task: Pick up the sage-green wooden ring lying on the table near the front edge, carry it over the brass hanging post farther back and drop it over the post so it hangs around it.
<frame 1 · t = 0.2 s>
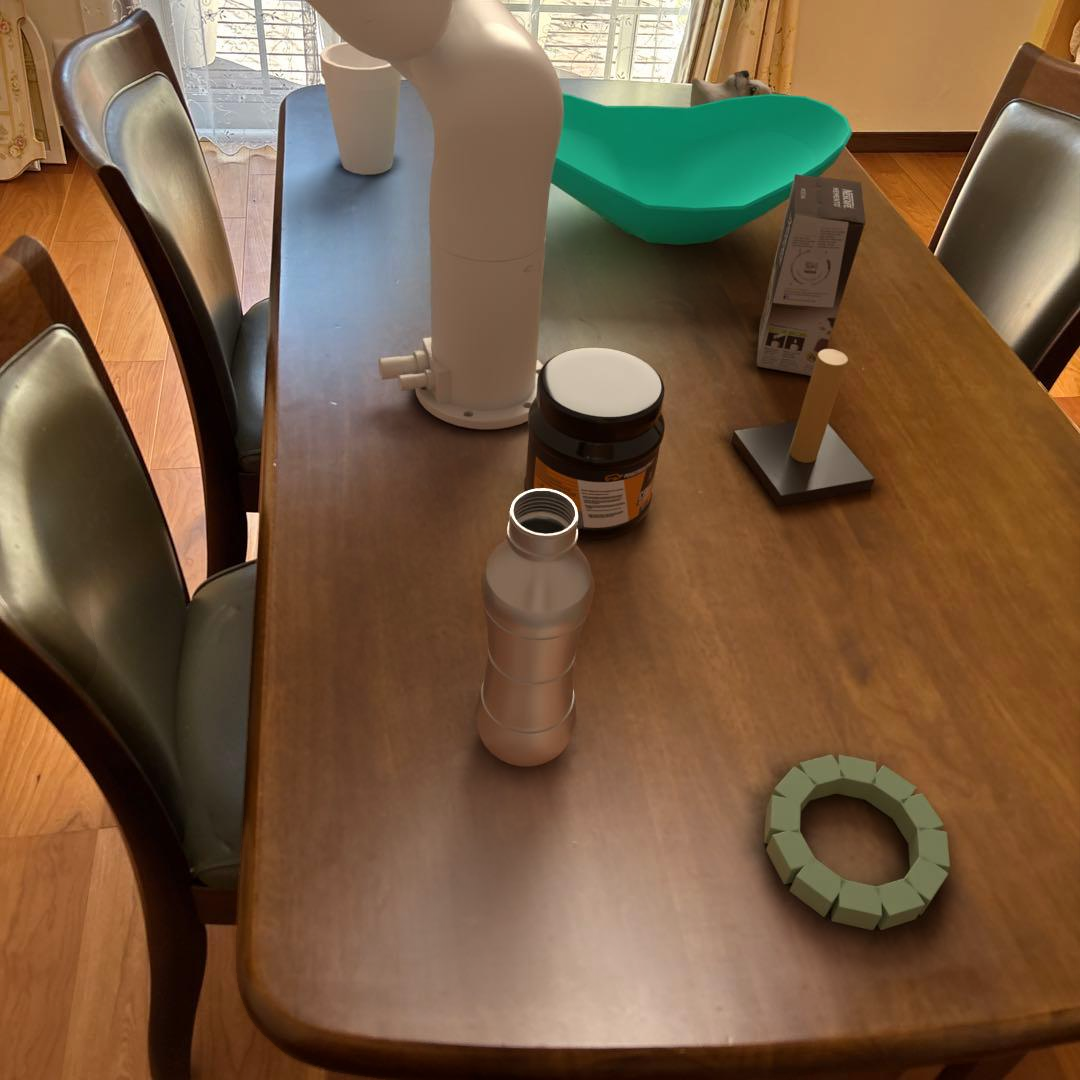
supplement container: (586, 503, 84), on the table
ring: (850, 845, 63), on the table
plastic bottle: (523, 739, 67), on the table
hook stand: (799, 464, 90), on the table
table top decor: (657, 228, 121), on the table
coffee box: (788, 350, 103), on the table
ceramic sculpture: (735, 135, 143), on the table
foam cup: (367, 165, 128), on the table
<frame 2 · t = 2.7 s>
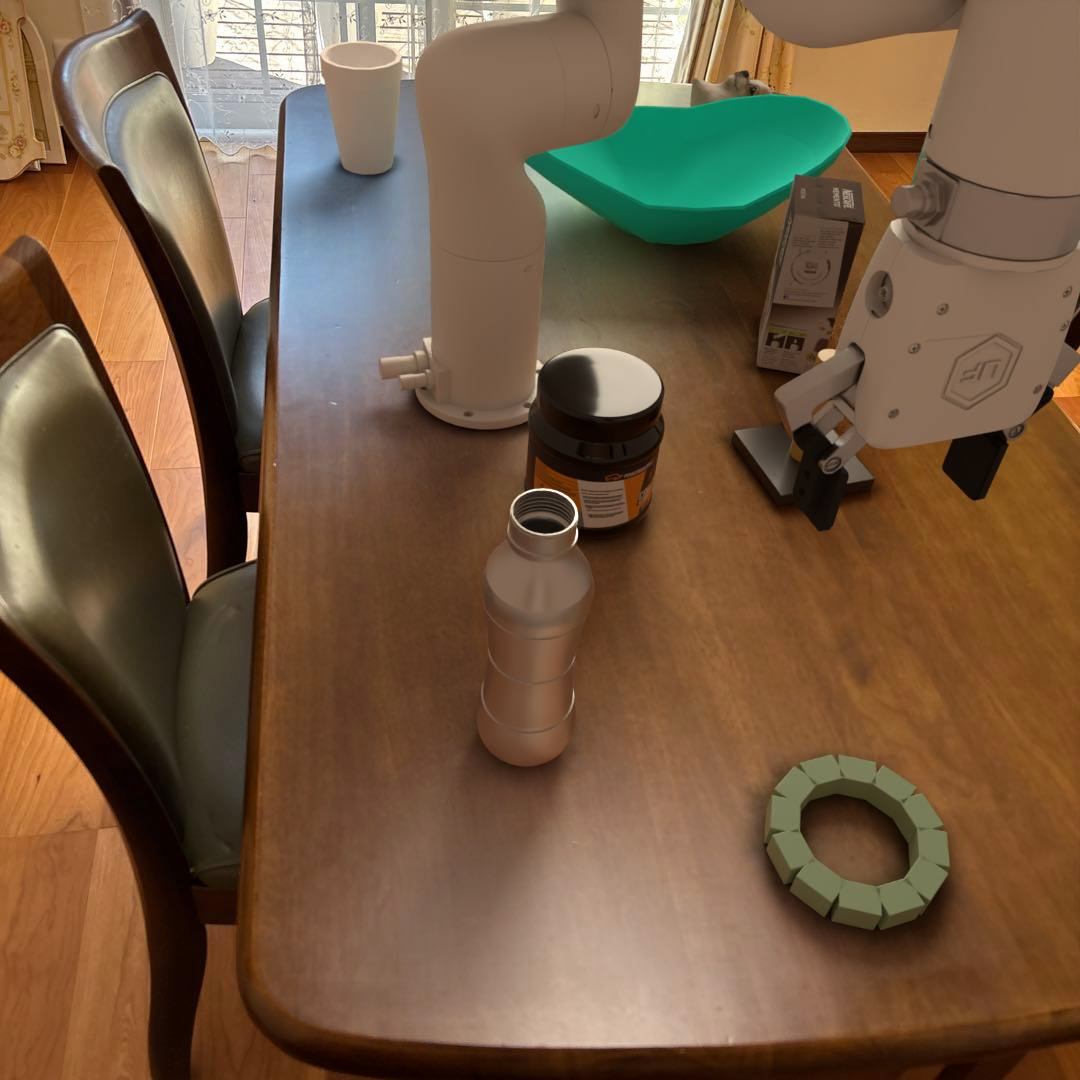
hand: (887, 499, 56), 20 cm above the table, tool pointing down, fingers open, 9 cm apart
nothing on the table moved.
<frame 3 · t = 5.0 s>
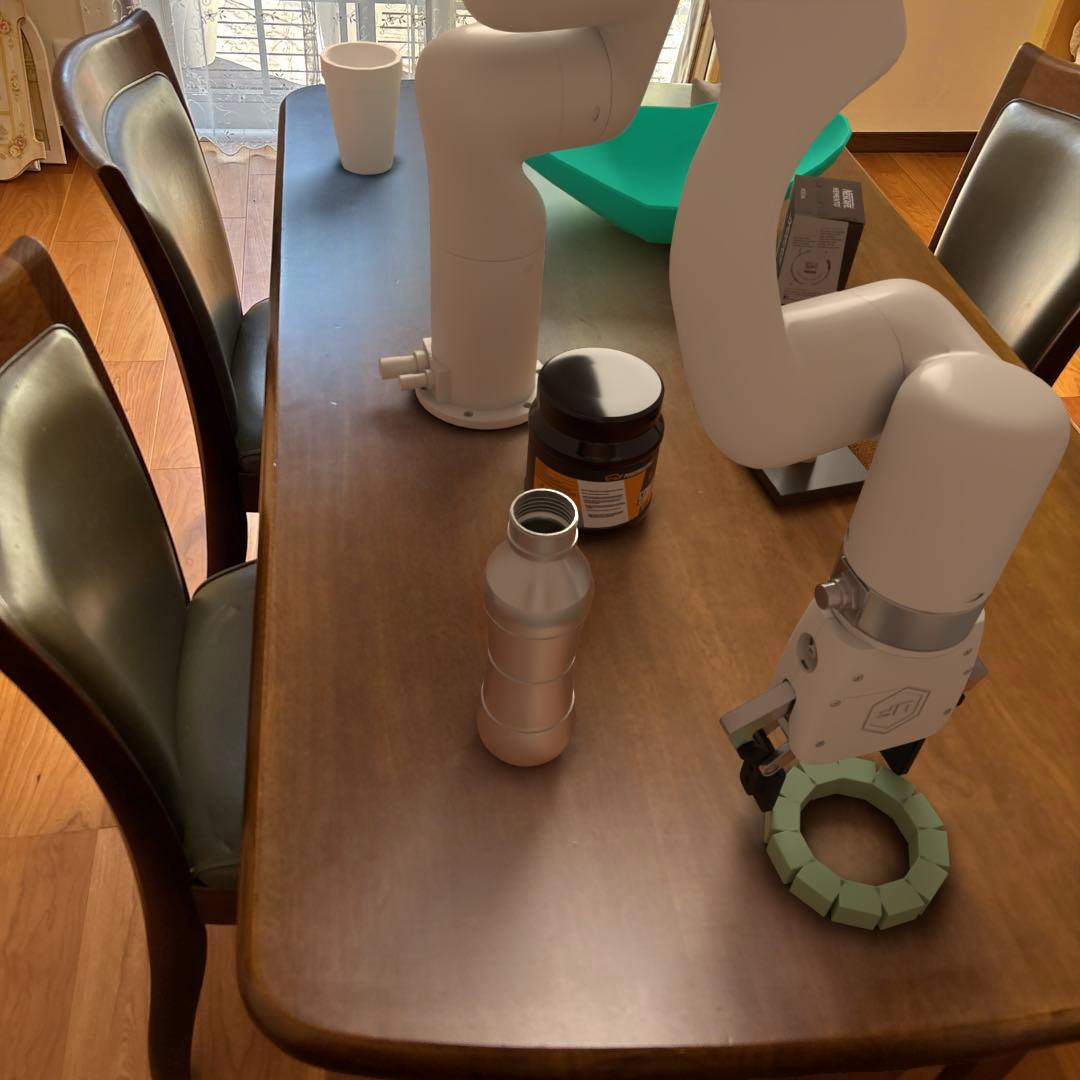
hand: (823, 773, 65), 2 cm above the table, tool pointing down, fingers closed on ring, 9 cm apart
ring: (850, 845, 63), on the table, touching gripper
everything else where it was.
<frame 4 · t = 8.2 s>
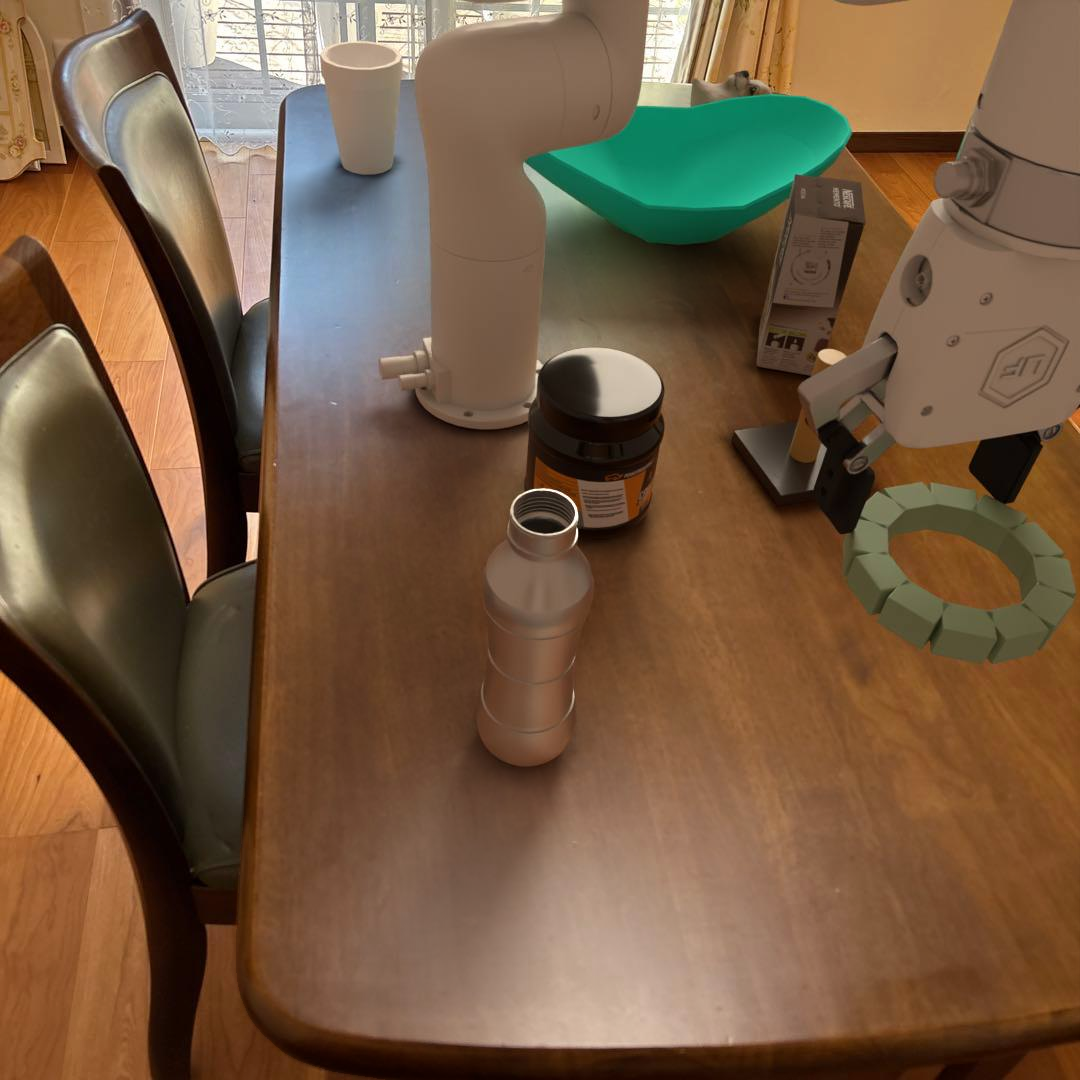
hand: (912, 500, 53), 22 cm above the table, tool pointing down, fingers closed on ring, 9 cm apart
ring: (948, 579, 51), point 20 cm above the table, touching gripper
everything else where it was.
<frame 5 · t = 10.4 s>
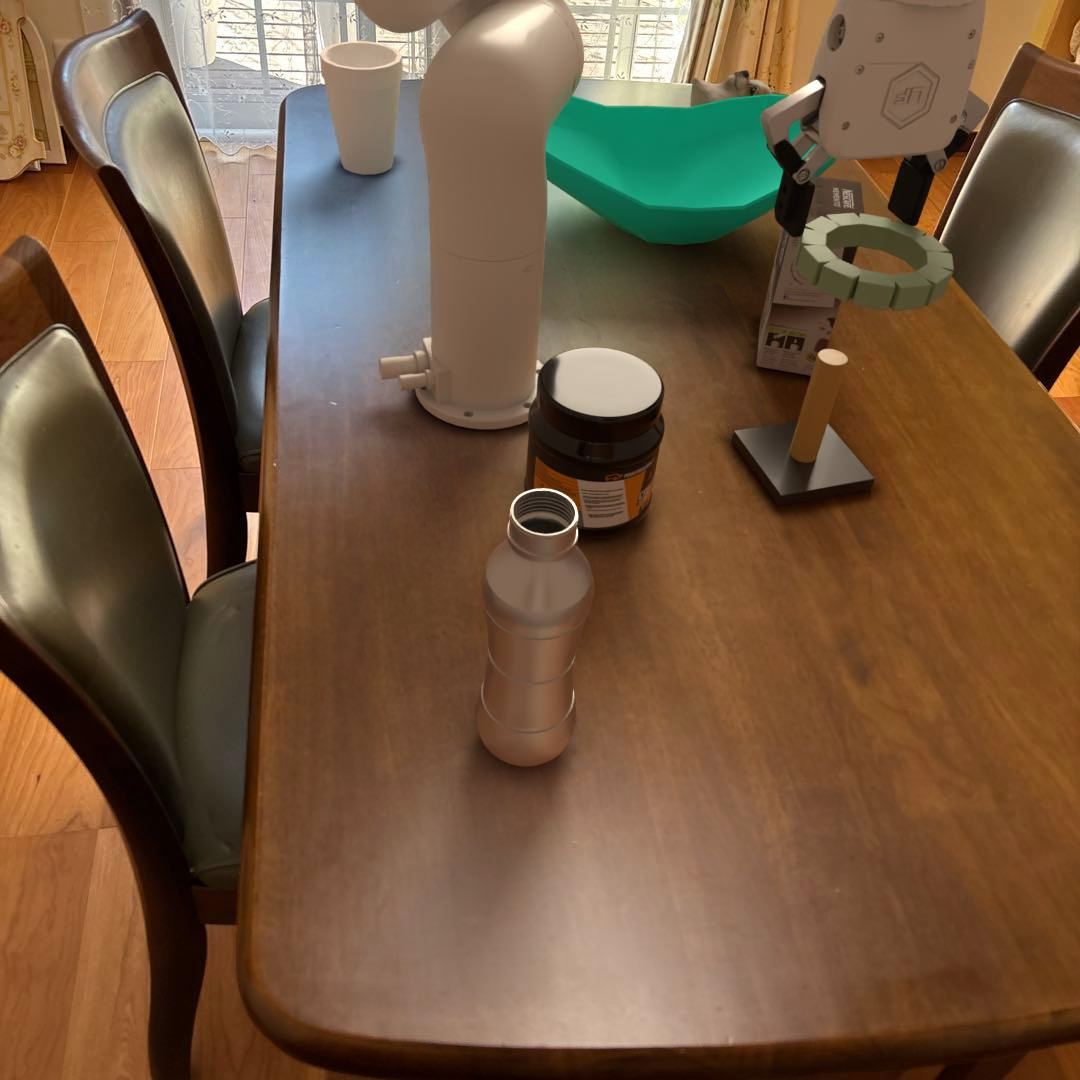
hand: (845, 222, 75), 22 cm above the table, tool pointing down, fingers closed on ring, 9 cm apart
ring: (869, 271, 73), point 21 cm above the table, touching gripper
everything else where it was.
when the fingers open (17 cm above the table, at t = 11.7 s): ring drops 15 cm, resting on hook stand.
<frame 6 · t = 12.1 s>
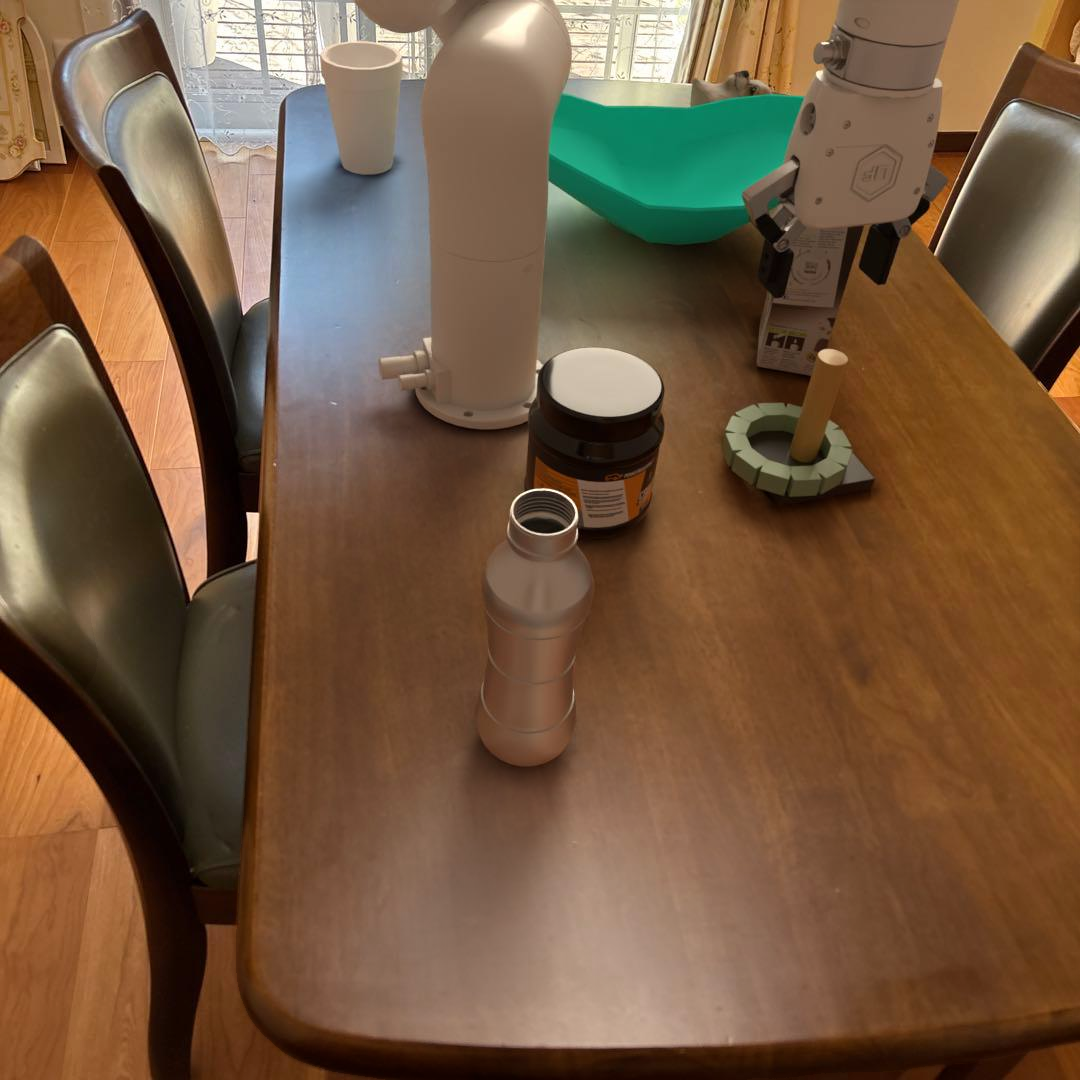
hand: (821, 282, 82), 15 cm above the table, tool pointing down, fingers open, 8 cm apart
ring: (783, 456, 88), point 1 cm above the table, touching hook stand
everything else where it was.
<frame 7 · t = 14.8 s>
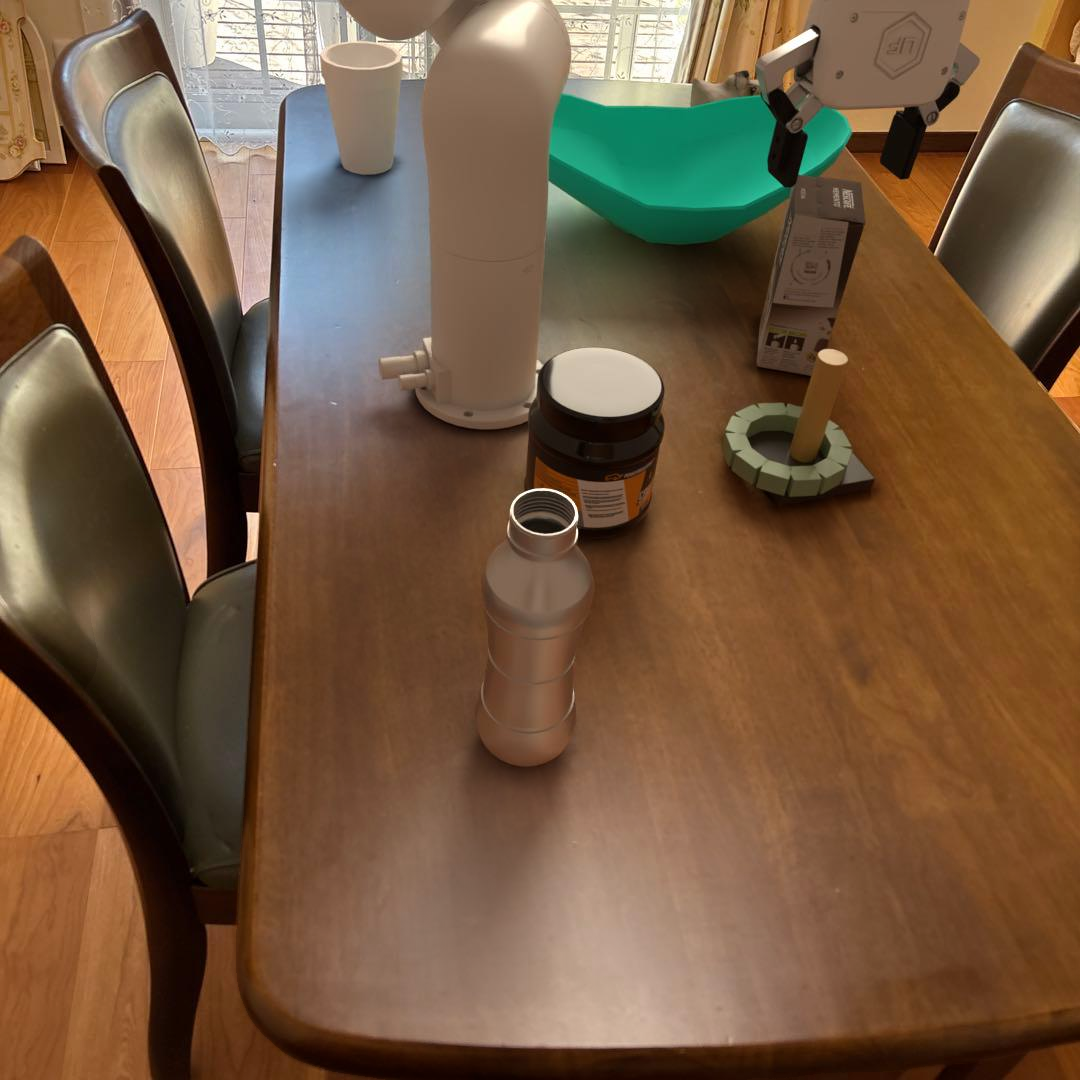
hand: (837, 175, 76), 24 cm above the table, tool pointing down, fingers open, 9 cm apart
nothing on the table moved.
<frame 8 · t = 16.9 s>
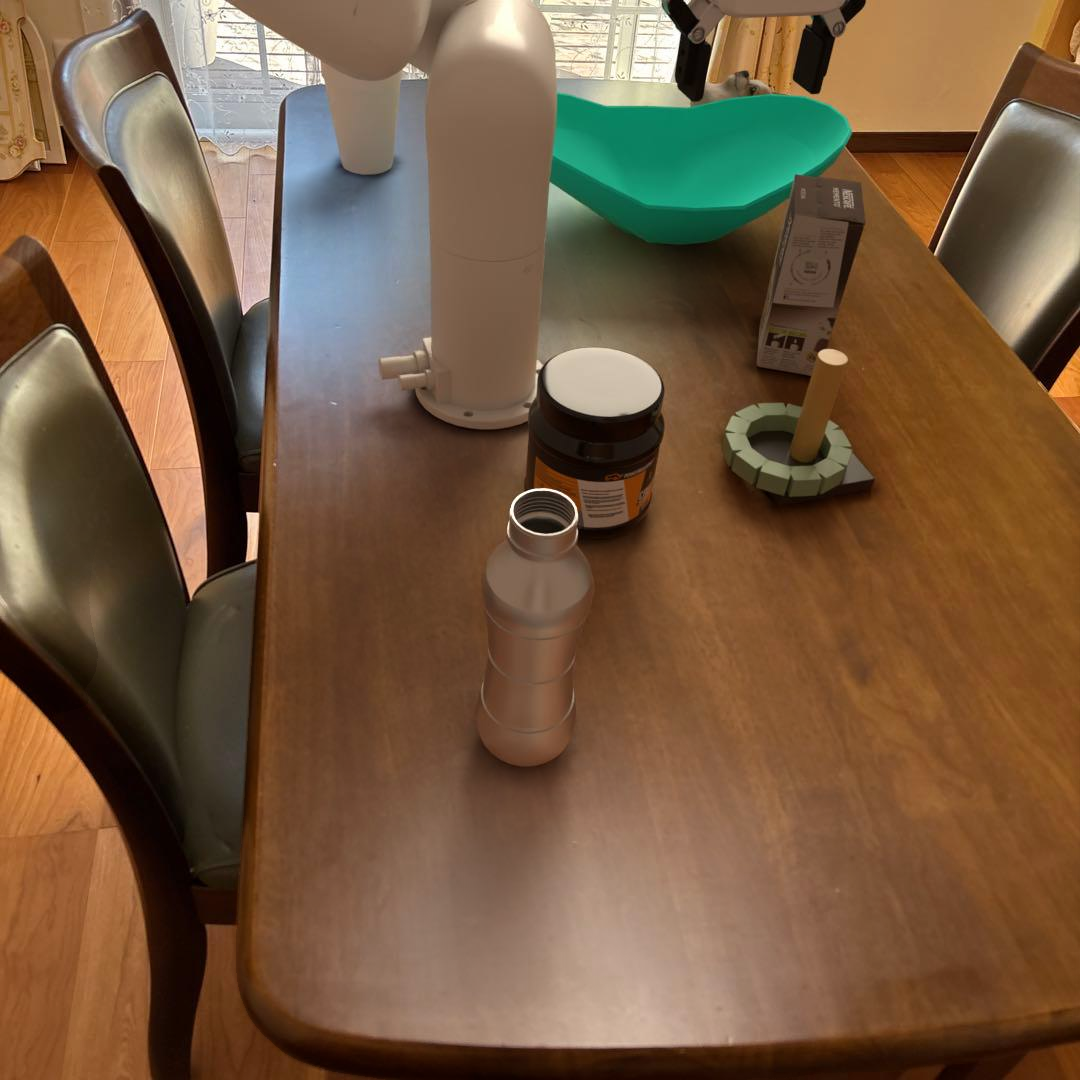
hand: (748, 91, 76), 28 cm above the table, tool pointing down, fingers open, 9 cm apart
nothing on the table moved.
at the end: ring 1.8 cm from the hook stand (horizontally); ring point 1.2 cm above the table; the gripper is holding nothing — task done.
